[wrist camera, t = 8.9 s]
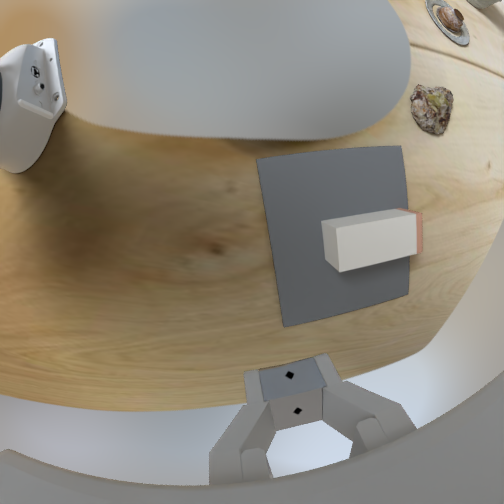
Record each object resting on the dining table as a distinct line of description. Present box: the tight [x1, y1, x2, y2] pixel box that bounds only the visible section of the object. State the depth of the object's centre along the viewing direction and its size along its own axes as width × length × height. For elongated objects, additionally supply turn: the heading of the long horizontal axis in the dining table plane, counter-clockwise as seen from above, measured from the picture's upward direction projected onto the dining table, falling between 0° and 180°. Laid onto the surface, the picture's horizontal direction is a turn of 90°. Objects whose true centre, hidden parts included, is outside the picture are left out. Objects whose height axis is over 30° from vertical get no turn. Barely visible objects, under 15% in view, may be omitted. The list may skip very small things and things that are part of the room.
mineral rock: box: [410, 84, 453, 134], centre depth 29 cm, size 11×4×8 cm
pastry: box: [426, 0, 469, 45], centre depth 23 cm, size 12×12×5 cm
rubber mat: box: [256, 146, 410, 327], centre depth 34 cm, size 22×20×1 cm
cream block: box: [321, 208, 422, 272], centre depth 31 cm, size 5×5×12 cm
